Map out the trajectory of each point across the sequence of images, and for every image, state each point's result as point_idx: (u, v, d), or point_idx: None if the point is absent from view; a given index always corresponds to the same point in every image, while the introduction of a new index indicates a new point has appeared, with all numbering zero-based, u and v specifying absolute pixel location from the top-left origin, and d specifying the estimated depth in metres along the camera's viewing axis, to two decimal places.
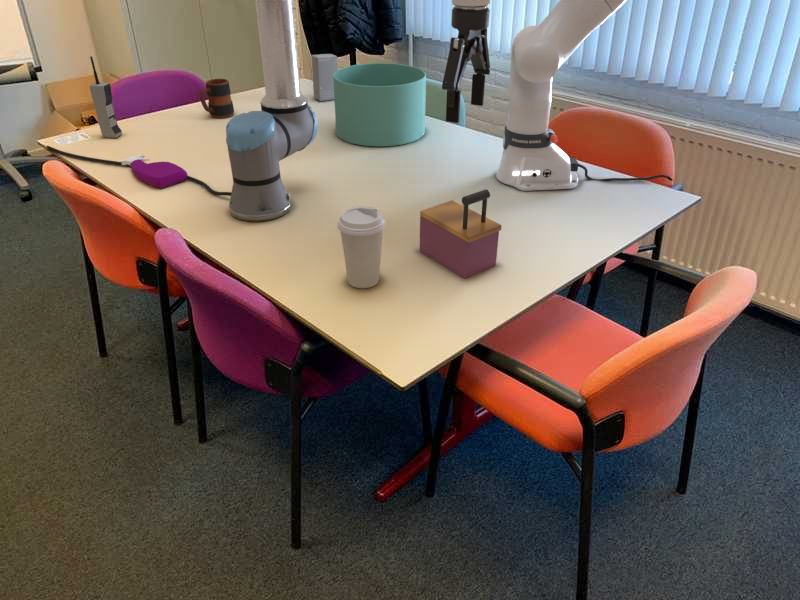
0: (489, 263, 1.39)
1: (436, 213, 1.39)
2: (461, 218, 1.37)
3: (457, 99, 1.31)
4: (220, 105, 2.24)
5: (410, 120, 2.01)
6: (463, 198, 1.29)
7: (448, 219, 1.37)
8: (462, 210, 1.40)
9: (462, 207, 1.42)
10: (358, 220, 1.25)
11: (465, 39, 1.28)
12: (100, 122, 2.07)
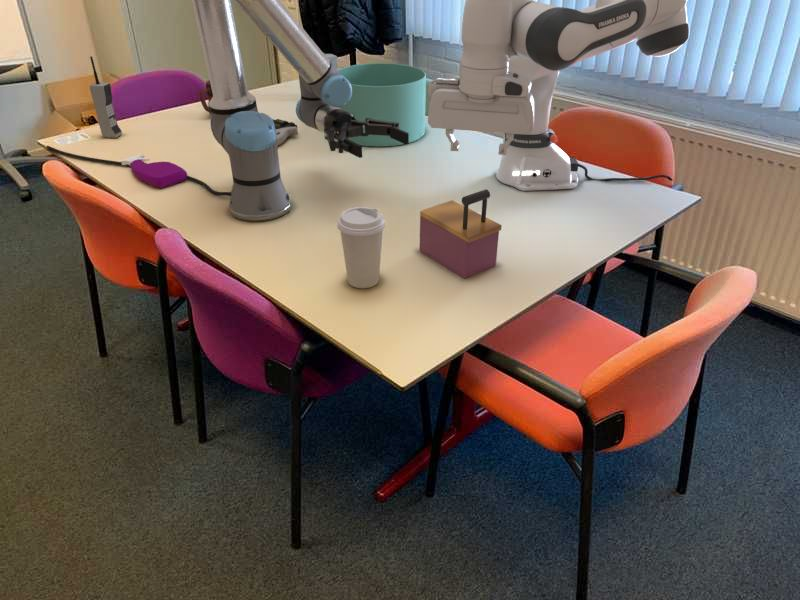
0: (489, 263, 1.39)
1: (436, 213, 1.39)
2: (461, 218, 1.37)
3: None
4: None
5: (410, 120, 2.01)
6: (463, 198, 1.29)
7: (448, 219, 1.37)
8: (462, 210, 1.40)
9: (462, 207, 1.42)
10: (358, 220, 1.25)
11: None
12: (100, 122, 2.07)
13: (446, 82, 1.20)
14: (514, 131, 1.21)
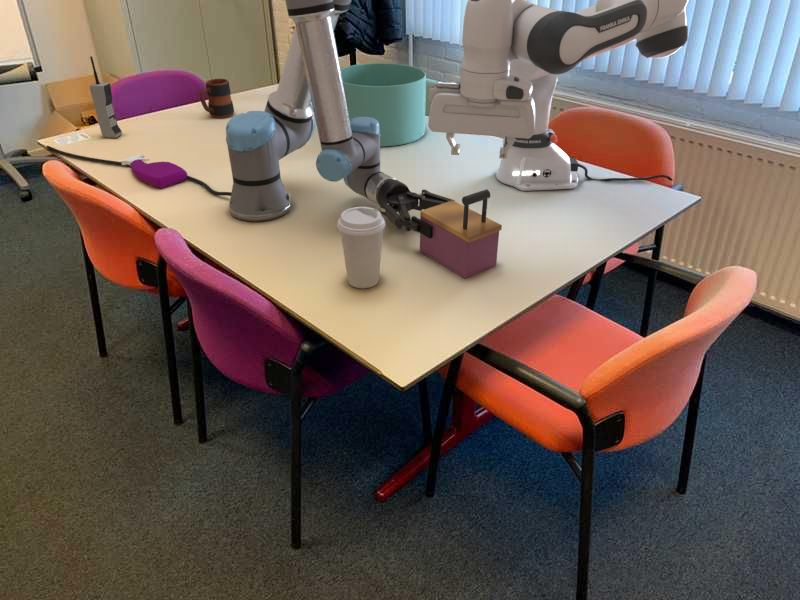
0: (489, 263, 1.39)
1: (436, 213, 1.39)
2: (461, 218, 1.37)
3: None
4: (220, 105, 2.24)
5: (410, 120, 2.01)
6: (463, 198, 1.29)
7: (448, 219, 1.37)
8: (462, 210, 1.40)
9: (462, 207, 1.42)
10: (358, 220, 1.25)
11: None
12: (100, 122, 2.07)
13: (446, 86, 1.20)
14: (515, 135, 1.21)
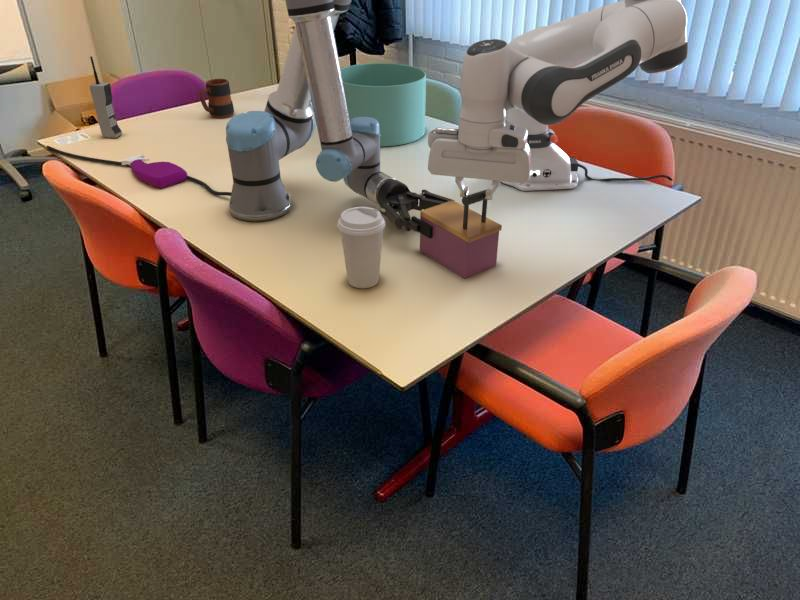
0: (489, 263, 1.39)
1: (436, 213, 1.39)
2: (461, 218, 1.37)
3: None
4: (220, 105, 2.24)
5: (410, 120, 2.01)
6: (463, 198, 1.29)
7: (448, 219, 1.37)
8: (462, 210, 1.40)
9: (462, 207, 1.42)
10: (358, 220, 1.25)
11: None
12: (100, 122, 2.07)
13: (445, 132, 1.25)
14: (511, 180, 1.25)
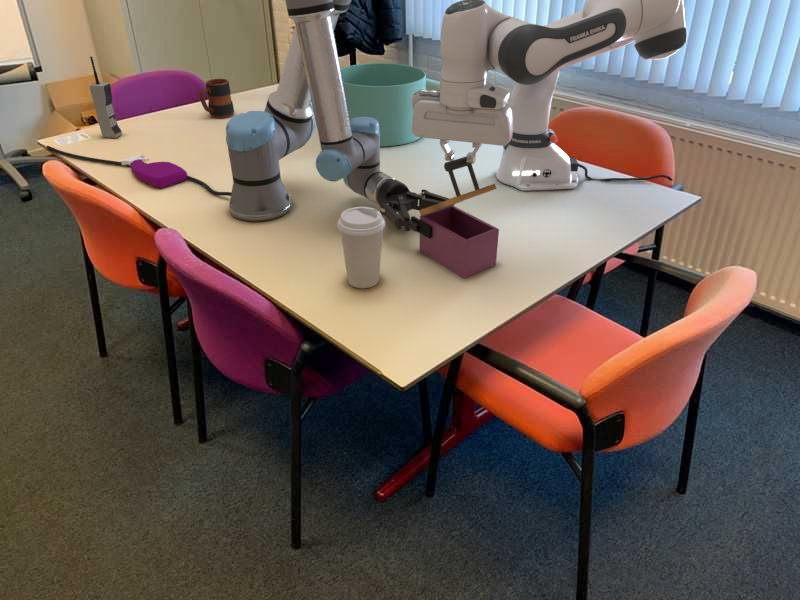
0: (489, 263, 1.39)
1: None
2: None
3: None
4: (220, 105, 2.24)
5: (410, 120, 2.01)
6: (445, 165, 1.30)
7: None
8: None
9: None
10: (358, 220, 1.25)
11: None
12: (100, 122, 2.07)
13: (428, 93, 1.26)
14: (491, 142, 1.25)
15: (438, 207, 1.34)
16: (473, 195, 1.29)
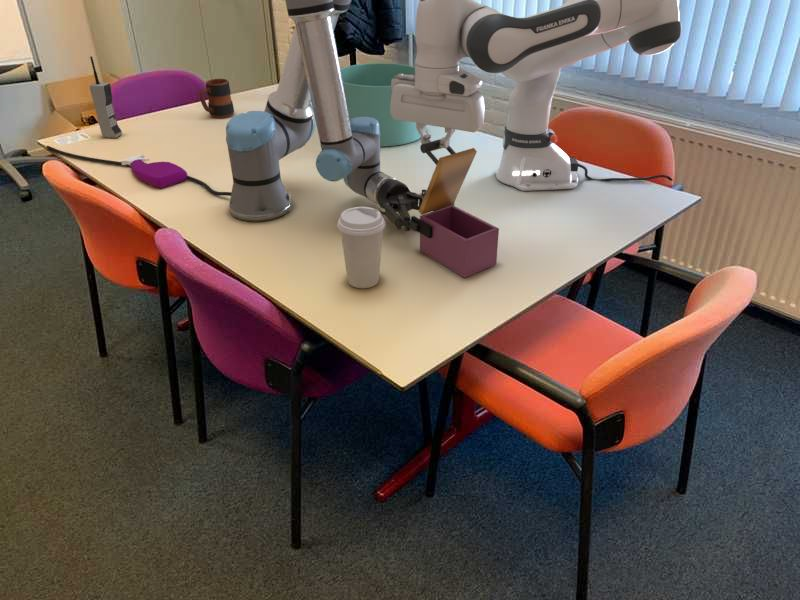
0: (489, 262, 1.38)
1: None
2: None
3: None
4: (220, 105, 2.24)
5: None
6: (421, 148, 1.35)
7: None
8: None
9: None
10: (358, 220, 1.25)
11: None
12: (100, 122, 2.07)
13: (405, 78, 1.31)
14: (461, 128, 1.29)
15: (429, 190, 1.35)
16: (452, 157, 1.30)
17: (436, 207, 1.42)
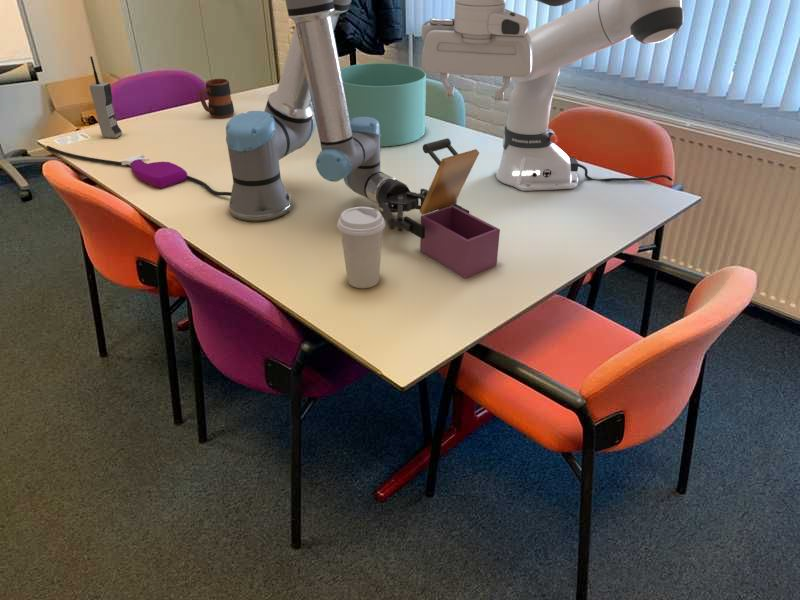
0: (490, 263, 1.39)
1: None
2: None
3: None
4: (220, 105, 2.24)
5: (410, 120, 2.01)
6: (423, 148, 1.35)
7: None
8: None
9: None
10: (358, 220, 1.25)
11: None
12: (100, 122, 2.07)
13: (440, 22, 1.16)
14: (511, 74, 1.16)
15: (431, 191, 1.35)
16: (455, 158, 1.29)
17: (437, 207, 1.41)
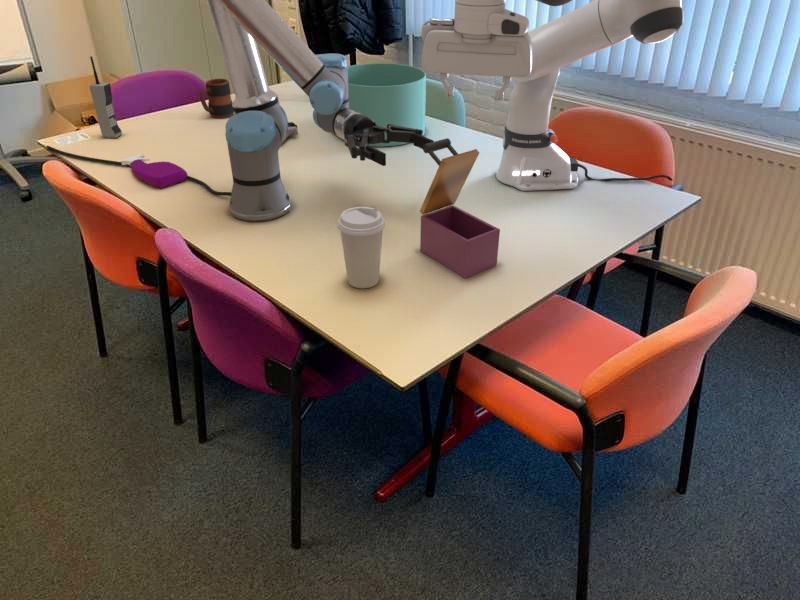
0: (490, 263, 1.39)
1: None
2: None
3: None
4: (220, 105, 2.24)
5: (410, 120, 2.01)
6: (423, 148, 1.35)
7: None
8: None
9: None
10: (358, 220, 1.25)
11: None
12: (100, 122, 2.07)
13: (440, 22, 1.16)
14: (511, 74, 1.16)
15: (431, 191, 1.35)
16: (455, 158, 1.29)
17: (437, 207, 1.41)
